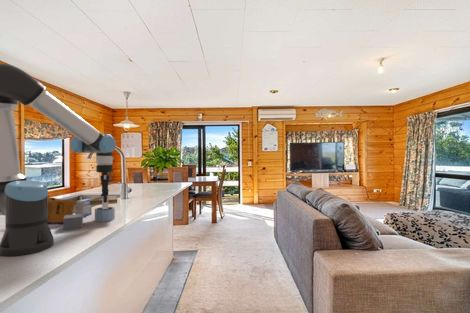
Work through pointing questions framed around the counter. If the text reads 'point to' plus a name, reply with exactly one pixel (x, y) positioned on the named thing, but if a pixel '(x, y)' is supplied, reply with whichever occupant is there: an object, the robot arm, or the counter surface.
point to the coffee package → (59, 209)
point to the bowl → (104, 214)
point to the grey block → (72, 221)
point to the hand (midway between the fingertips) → (105, 206)
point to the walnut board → (99, 200)
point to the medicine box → (83, 207)
